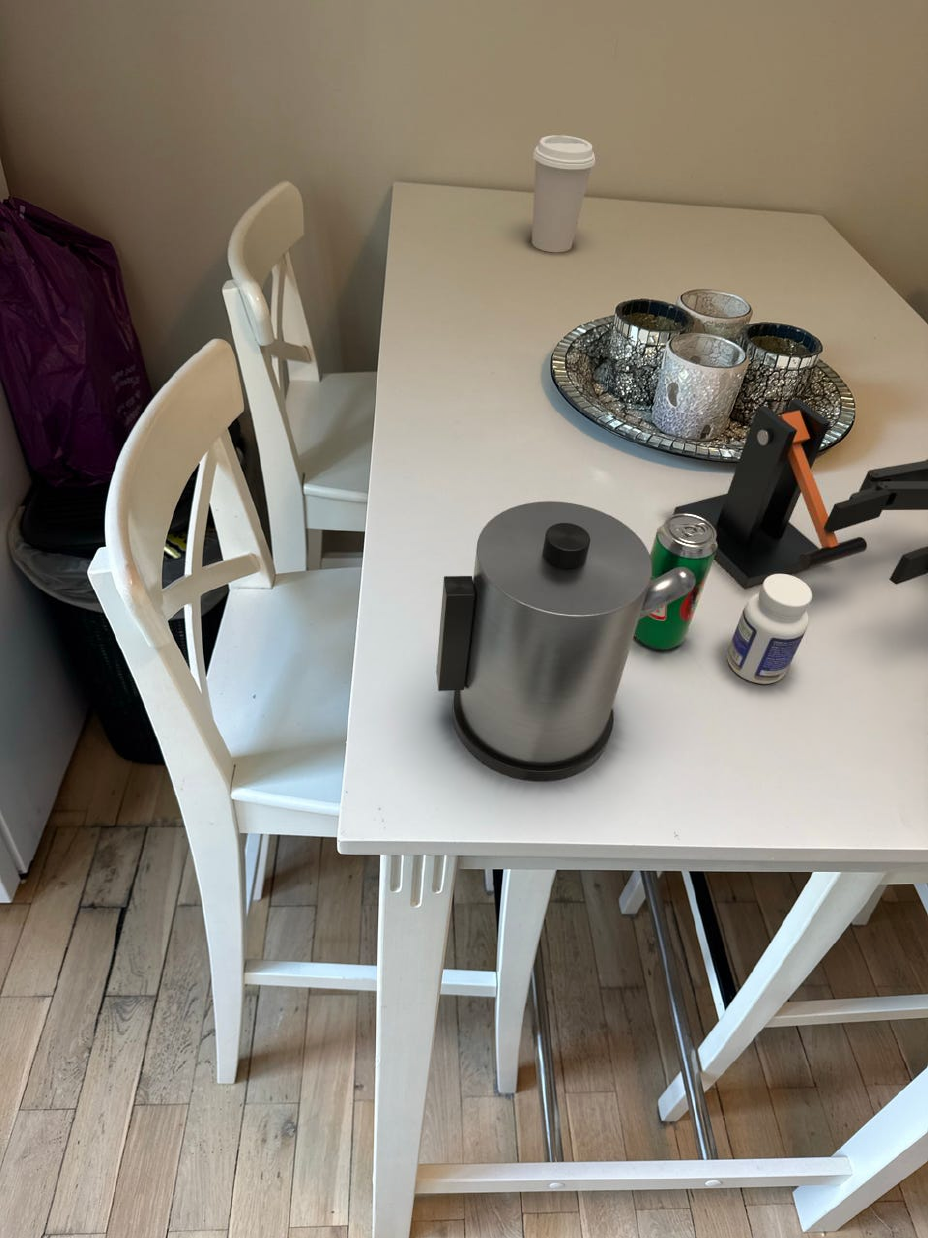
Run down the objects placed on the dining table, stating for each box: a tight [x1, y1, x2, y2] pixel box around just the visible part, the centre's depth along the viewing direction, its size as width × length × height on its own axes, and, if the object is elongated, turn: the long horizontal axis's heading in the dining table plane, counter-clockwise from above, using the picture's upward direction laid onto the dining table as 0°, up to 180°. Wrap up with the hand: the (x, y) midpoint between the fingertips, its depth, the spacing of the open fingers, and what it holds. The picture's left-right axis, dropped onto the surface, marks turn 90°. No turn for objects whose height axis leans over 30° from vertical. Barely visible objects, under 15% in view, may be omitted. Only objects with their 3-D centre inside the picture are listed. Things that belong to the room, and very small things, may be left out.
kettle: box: [435, 500, 695, 782], centre depth 65 cm, size 18×13×19 cm
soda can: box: [634, 514, 718, 650], centre depth 76 cm, size 5×5×12 cm
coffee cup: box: [531, 134, 596, 254], centre depth 137 cm, size 10×10×15 cm
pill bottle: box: [726, 574, 813, 685], centre depth 75 cm, size 5×5×9 cm
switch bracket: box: [672, 398, 831, 589], centre depth 85 cm, size 12×10×15 cm
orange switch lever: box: [779, 411, 868, 571], centre depth 81 cm, size 14×7×2 cm
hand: (864, 543), depth 76 cm, fingers open, 7 cm apart
